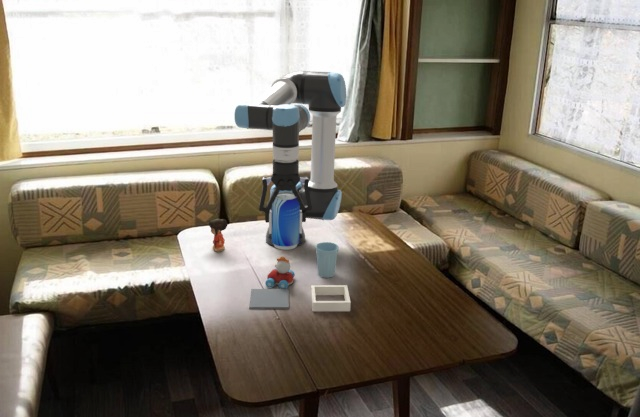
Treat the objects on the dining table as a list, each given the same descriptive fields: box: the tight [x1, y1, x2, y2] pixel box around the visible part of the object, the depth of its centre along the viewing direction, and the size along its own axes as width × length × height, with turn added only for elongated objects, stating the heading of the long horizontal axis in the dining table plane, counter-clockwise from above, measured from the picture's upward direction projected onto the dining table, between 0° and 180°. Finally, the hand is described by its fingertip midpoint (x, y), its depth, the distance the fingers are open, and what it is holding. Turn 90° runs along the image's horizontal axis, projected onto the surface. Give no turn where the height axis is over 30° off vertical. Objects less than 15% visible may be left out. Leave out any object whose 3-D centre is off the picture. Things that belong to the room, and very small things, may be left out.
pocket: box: [310, 284, 352, 312], centre depth 194 cm, size 12×12×3 cm
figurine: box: [208, 218, 228, 253], centre depth 229 cm, size 6×6×12 cm
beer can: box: [272, 192, 300, 251], centre depth 186 cm, size 8×8×16 cm
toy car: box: [265, 256, 295, 289], centre depth 204 cm, size 9×9×10 cm
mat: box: [249, 288, 290, 310], centre depth 195 cm, size 12×12×1 cm
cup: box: [315, 241, 339, 279], centre depth 211 cm, size 8×8×10 cm
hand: (285, 231), depth 187 cm, fingers closed on beer can, 8 cm apart
